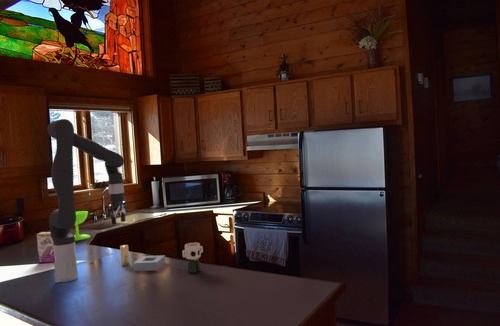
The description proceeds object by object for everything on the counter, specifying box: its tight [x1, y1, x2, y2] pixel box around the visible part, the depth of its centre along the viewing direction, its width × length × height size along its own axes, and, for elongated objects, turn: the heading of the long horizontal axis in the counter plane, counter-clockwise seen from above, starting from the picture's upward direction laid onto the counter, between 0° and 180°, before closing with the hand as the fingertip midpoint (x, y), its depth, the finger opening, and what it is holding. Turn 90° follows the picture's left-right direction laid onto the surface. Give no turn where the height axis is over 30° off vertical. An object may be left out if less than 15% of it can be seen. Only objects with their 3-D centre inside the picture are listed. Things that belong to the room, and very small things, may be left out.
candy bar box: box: [36, 231, 55, 264], centre depth 222 cm, size 11×5×16 cm, turn 84°
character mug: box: [181, 242, 204, 274], centre depth 186 cm, size 11×7×13 cm, turn 130°
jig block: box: [133, 255, 167, 272], centre depth 198 cm, size 12×12×4 cm
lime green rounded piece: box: [73, 210, 91, 242], centre depth 282 cm, size 16×16×18 cm
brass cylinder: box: [119, 244, 130, 267], centre depth 205 cm, size 4×4×10 cm
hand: (118, 223), depth 209 cm, fingers open, 8 cm apart
